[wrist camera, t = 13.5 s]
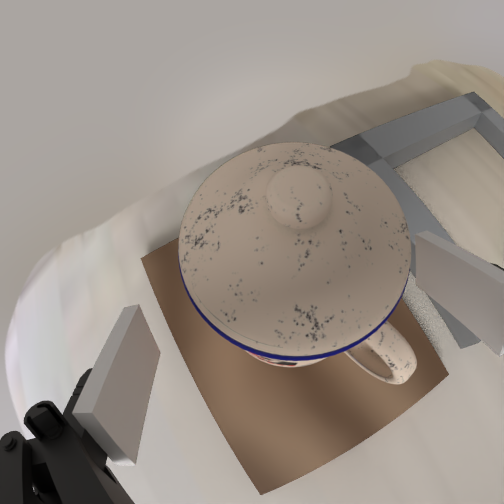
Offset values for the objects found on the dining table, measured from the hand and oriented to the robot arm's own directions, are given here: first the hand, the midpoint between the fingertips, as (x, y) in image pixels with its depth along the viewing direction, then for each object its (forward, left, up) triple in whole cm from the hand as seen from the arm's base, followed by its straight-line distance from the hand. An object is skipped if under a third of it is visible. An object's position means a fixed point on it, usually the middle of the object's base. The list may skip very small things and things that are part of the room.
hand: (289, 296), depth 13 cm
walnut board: (0, 0, -7) cm, 7 cm away
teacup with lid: (-1, 0, -6) cm, 6 cm away
